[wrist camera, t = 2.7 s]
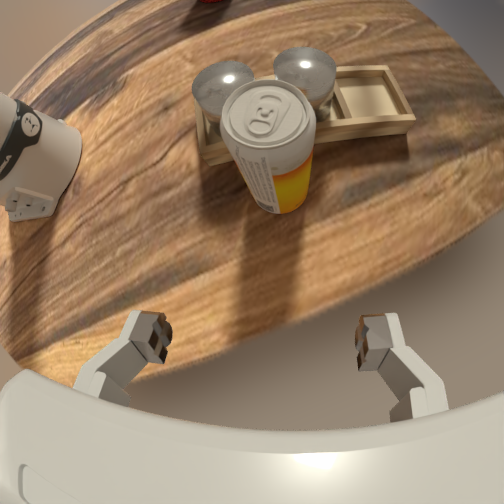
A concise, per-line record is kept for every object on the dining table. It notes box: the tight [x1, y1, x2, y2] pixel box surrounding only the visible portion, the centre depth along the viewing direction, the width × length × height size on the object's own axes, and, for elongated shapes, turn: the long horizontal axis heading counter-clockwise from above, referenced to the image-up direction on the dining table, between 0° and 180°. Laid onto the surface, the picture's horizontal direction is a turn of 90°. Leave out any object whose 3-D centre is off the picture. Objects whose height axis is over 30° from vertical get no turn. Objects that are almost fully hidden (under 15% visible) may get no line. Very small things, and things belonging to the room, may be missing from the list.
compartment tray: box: [194, 66, 416, 167], centre depth 28 cm, size 25×9×4 cm, turn 100°
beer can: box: [220, 79, 316, 214], centre depth 22 cm, size 6×6×15 cm
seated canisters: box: [192, 47, 337, 138], centre depth 25 cm, size 14×6×7 cm, turn 100°
